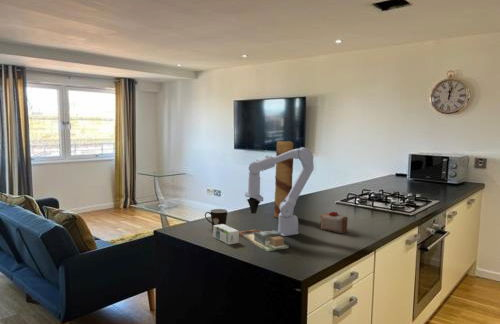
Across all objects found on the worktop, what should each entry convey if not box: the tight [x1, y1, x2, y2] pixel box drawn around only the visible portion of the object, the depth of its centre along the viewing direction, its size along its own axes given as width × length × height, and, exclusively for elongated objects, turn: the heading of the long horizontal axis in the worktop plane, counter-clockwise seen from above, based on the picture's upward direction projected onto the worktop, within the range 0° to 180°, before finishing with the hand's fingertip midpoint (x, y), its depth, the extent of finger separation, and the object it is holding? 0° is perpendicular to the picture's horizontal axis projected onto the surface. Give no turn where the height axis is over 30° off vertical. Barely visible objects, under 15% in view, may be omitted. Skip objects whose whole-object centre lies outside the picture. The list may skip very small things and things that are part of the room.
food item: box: [320, 211, 349, 234], centre depth 186 cm, size 14×8×10 cm, turn 50°
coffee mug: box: [204, 208, 229, 230], centre depth 184 cm, size 12×9×10 cm
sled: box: [264, 230, 285, 249], centre depth 159 cm, size 5×12×4 cm, turn 29°
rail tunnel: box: [239, 229, 290, 252], centre depth 167 cm, size 11×28×6 cm, turn 29°
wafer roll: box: [273, 140, 294, 219], centre depth 212 cm, size 10×11×45 cm
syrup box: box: [212, 224, 240, 245], centre depth 167 cm, size 6×6×14 cm
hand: (253, 213), depth 179 cm, fingers closed
